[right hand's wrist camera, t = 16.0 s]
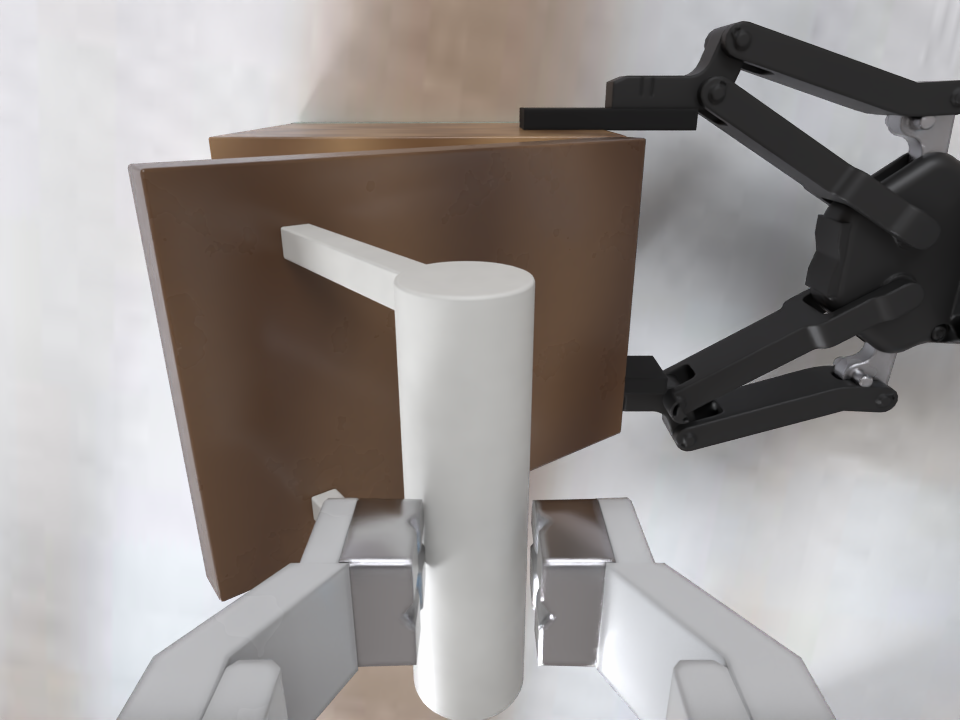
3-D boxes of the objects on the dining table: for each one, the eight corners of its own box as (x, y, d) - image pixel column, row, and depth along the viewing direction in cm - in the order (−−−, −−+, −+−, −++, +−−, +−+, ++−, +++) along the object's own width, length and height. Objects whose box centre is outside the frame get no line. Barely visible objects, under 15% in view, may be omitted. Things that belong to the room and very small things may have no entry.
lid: (206, 577, 17) (364, 861, 11) (126, 164, 13) (298, 226, 7) (596, 421, 25) (818, 530, 19) (617, 136, 21) (903, 153, 15)
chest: (315, 325, 36) (249, 421, 25) (294, 122, 32) (207, 136, 21) (567, 323, 36) (606, 419, 25) (577, 121, 32) (627, 135, 21)
